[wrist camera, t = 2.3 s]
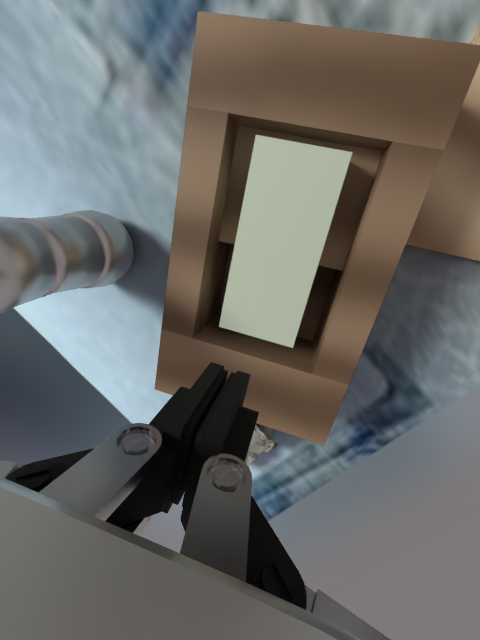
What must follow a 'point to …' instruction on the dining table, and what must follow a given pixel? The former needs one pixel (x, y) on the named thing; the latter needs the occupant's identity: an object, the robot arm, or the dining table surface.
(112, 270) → the plastic bottle
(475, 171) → the plate
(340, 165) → the slab
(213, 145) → the pocket board
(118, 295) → the dining table surface
